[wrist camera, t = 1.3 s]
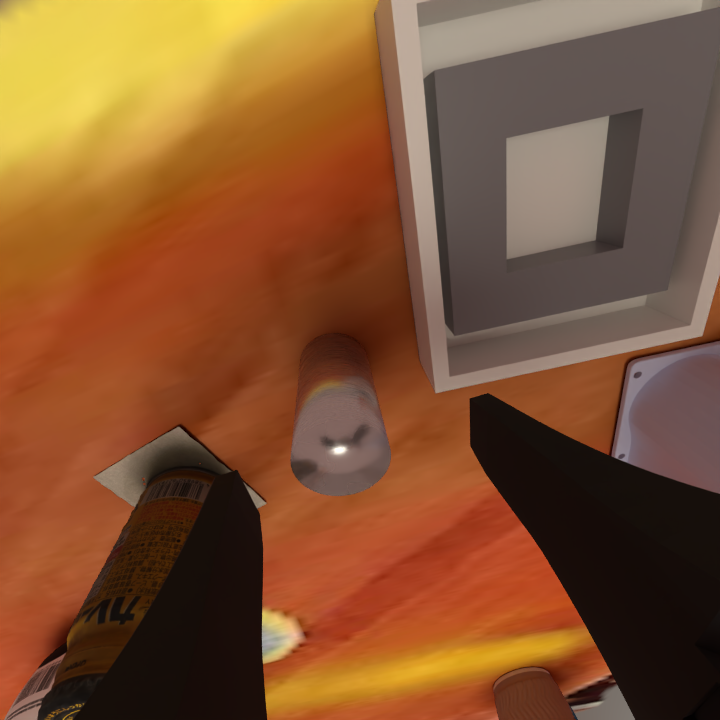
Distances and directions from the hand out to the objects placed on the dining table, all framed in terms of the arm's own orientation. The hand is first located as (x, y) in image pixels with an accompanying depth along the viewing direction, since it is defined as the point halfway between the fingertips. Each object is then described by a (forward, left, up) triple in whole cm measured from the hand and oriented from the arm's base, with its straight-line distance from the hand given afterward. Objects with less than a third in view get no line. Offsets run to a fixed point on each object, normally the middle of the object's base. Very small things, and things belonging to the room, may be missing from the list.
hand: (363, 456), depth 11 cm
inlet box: (+4, -11, -11) cm, 16 cm away
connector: (-3, +1, -11) cm, 11 cm away
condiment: (-10, +13, -11) cm, 20 cm away
